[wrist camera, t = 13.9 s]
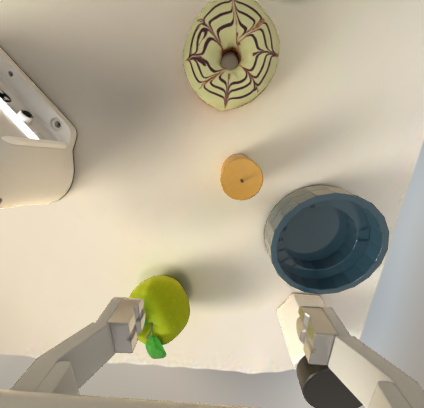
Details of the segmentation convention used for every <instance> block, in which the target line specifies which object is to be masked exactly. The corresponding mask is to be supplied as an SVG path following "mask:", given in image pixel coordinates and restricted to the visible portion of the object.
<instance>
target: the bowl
mask: <svg viewBox="0 0 424 408" xmlns="http://www.w3.org/2000/svg"><path fill="white" fill-rule="evenodd" d="M264 237H265V245H266V248H267V251H268V253H269V256H270V258H271V261H272V263H273V265H274V267H275V269H276V271H277V273H278V275H279V276H280V277H281V278H282V279H283V280H284V281H286V282H287V283H288V284H289V285H290V286H292V287H294V288H297V289H299V290H301V291H303V292H307V293H314V294H330V293H337V292H341V291H344V290H347V289H349V288H352V287H355V286H356V285H358V284H360V283H361V282H363V281H364V280H366V279H367V278H369V277H370V276H371V274H372V273H373V272H374V271H375V270H376V269H377V268H378V267H379V265H380V264H381V263H382V261H383V258H384V256H385V254H386V252H387V250H388V240H389V230H388V227H387V224H386V221H385V218H384V216H383V215H382V214H381V213H380V211H379V210H378V209H377V208H376V207H375V206H374V205H373V204H372V203H370V202H368V201H366V200H364V199H362V198H360V197H359V196H356V195H354V194H352V193H349V192H347V191H344V190H342V189H339V188H337V187H331V186H324V185H316V186H310V187H304V188H301V189H299V190H297V191H295V192H293V193H290V194H288V195H287V196H286V197H285V198H284V199H282V200H281V201H280V202H279V203H278V204H277V205H276V206H275V207H274V209H273V210H272V212H271V214H270V215H269V217H268V219H267V222H266V226H265V230H264Z"/></svg>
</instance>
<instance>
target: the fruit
mask: <svg viewBox="0 0 424 408" xmlns="http://www.w3.org/2000/svg"><path fill="white" fill-rule="evenodd" d="M129 298H138V299H143V300H144V306H143V310H144V311H145V323H144V327H143V329H142V332H141V333H139V334H138V335H137V336H138V340H140V341H141V342H142V343H144V344H146V349H147V351H148V353H149V355H150V356H151V358H153V359H158V358H164V357H165V356H166V352H165V350H164V348H163V346H162V345H164V344H167V343H169V342H170V341H172V340H173V339H174V338H175V337H176V336H178V334H179V333H180V332H181V331H182V330H183V329H184V327H185V325H186V324H187V322H188V319H189V315H190V306H189V301H188V297H187V295H186V293H185V291H184V289H183V288H182V286H181V285H180V283H179V282H178V281H177V280H176V279H174V278H171V277H168V276H163V275H160V276H154V277H151V278H149V279H147V280H145V281H144V282H142V283H141V284H139V285H138V286H137V287H136V288H135V289H134V290H133V292H132V293H131V295H130V296H129Z"/></svg>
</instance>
